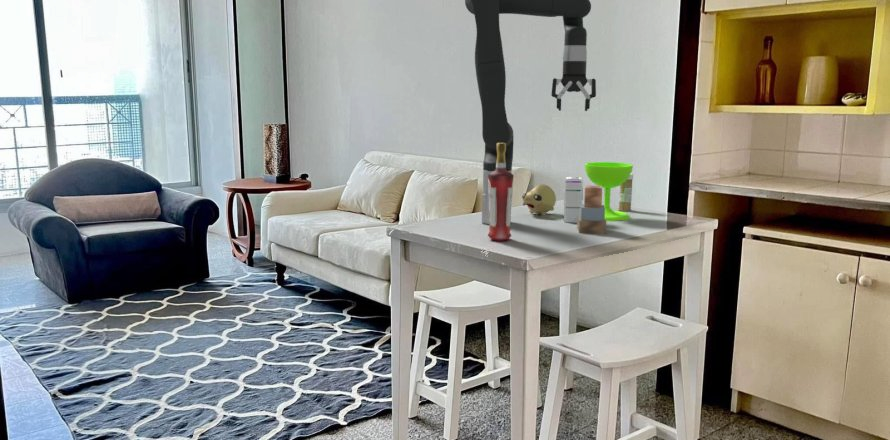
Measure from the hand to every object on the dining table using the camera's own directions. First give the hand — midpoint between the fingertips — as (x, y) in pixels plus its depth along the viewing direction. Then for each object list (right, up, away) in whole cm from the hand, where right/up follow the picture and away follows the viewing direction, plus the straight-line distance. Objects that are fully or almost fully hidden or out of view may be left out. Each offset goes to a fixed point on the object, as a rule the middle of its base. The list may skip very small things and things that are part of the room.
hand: (572, 110), depth 239 cm
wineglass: (+13, -35, +11) cm, 39 cm away
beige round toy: (-9, -34, +15) cm, 38 cm away
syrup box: (0, -36, +3) cm, 37 cm away
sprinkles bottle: (+23, -33, +24) cm, 46 cm away
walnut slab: (+3, -40, -13) cm, 42 cm away
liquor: (-26, -42, -27) cm, 56 cm away
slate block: (+4, -36, -14) cm, 38 cm away
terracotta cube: (+4, -32, -14) cm, 35 cm away
